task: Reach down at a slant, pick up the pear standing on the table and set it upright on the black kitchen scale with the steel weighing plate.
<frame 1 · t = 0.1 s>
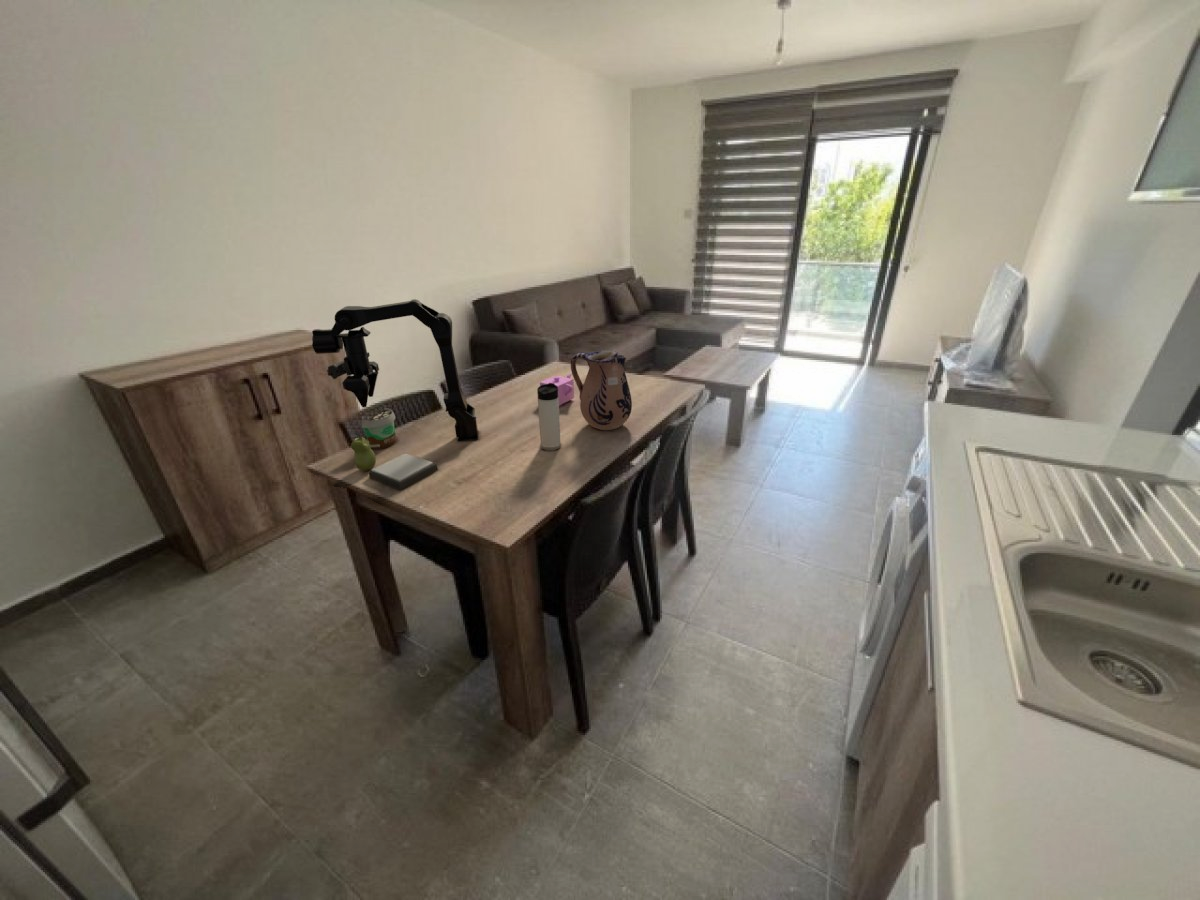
hand: (367, 401, 147), 15 cm above the table, tool pointing down, fingers open, 9 cm apart
travel mug: (551, 446, 152), on the table
kitchen scale: (404, 473, 136), on the table
pear: (367, 470, 139), on the table
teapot: (560, 401, 188), on the table
ceramic pitcher: (601, 425, 167), on the table
food container: (388, 444, 154), on the table
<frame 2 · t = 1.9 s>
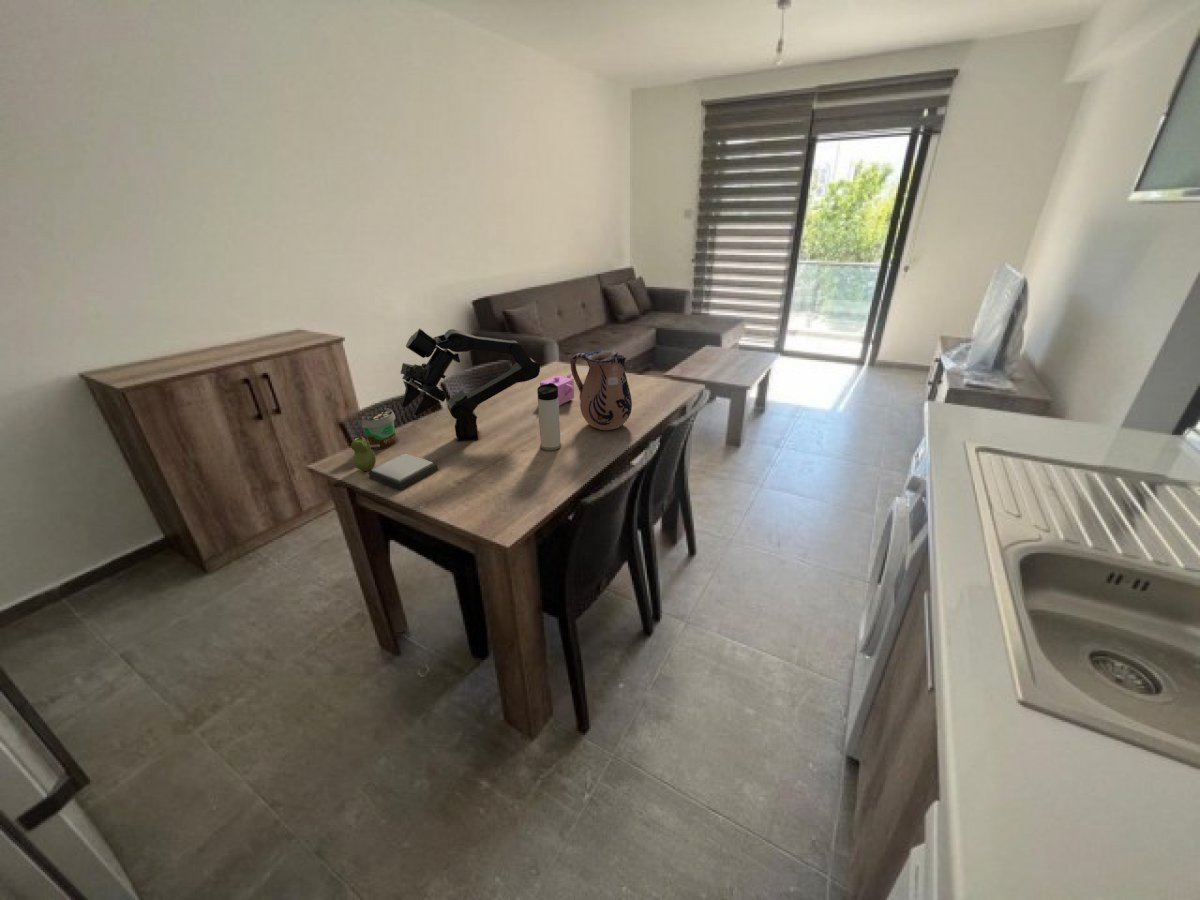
hand: (409, 410, 143), 14 cm above the table, tool tilted 45°, fingers open, 9 cm apart
nothing on the table moved.
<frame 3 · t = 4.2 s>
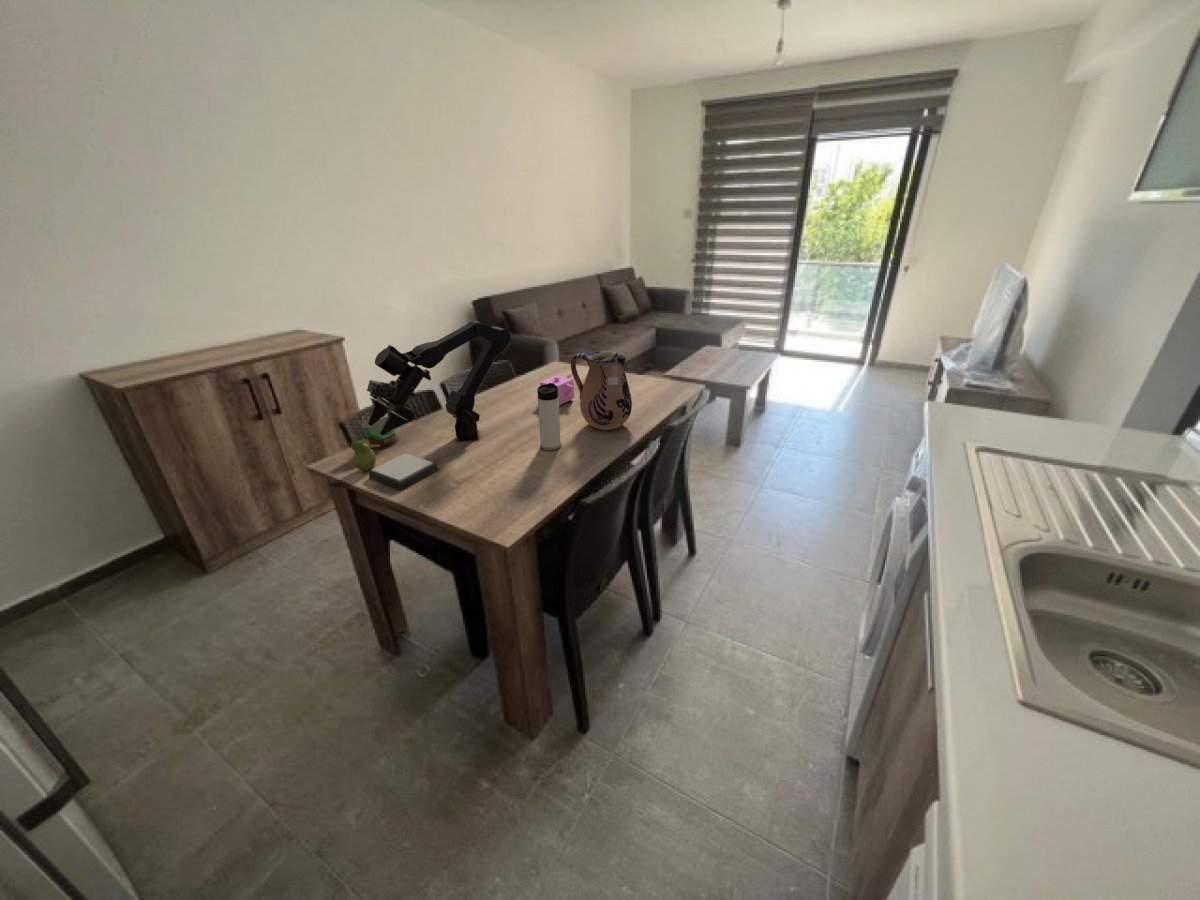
hand: (375, 429, 136), 11 cm above the table, tool tilted 45°, fingers open, 9 cm apart
nothing on the table moved.
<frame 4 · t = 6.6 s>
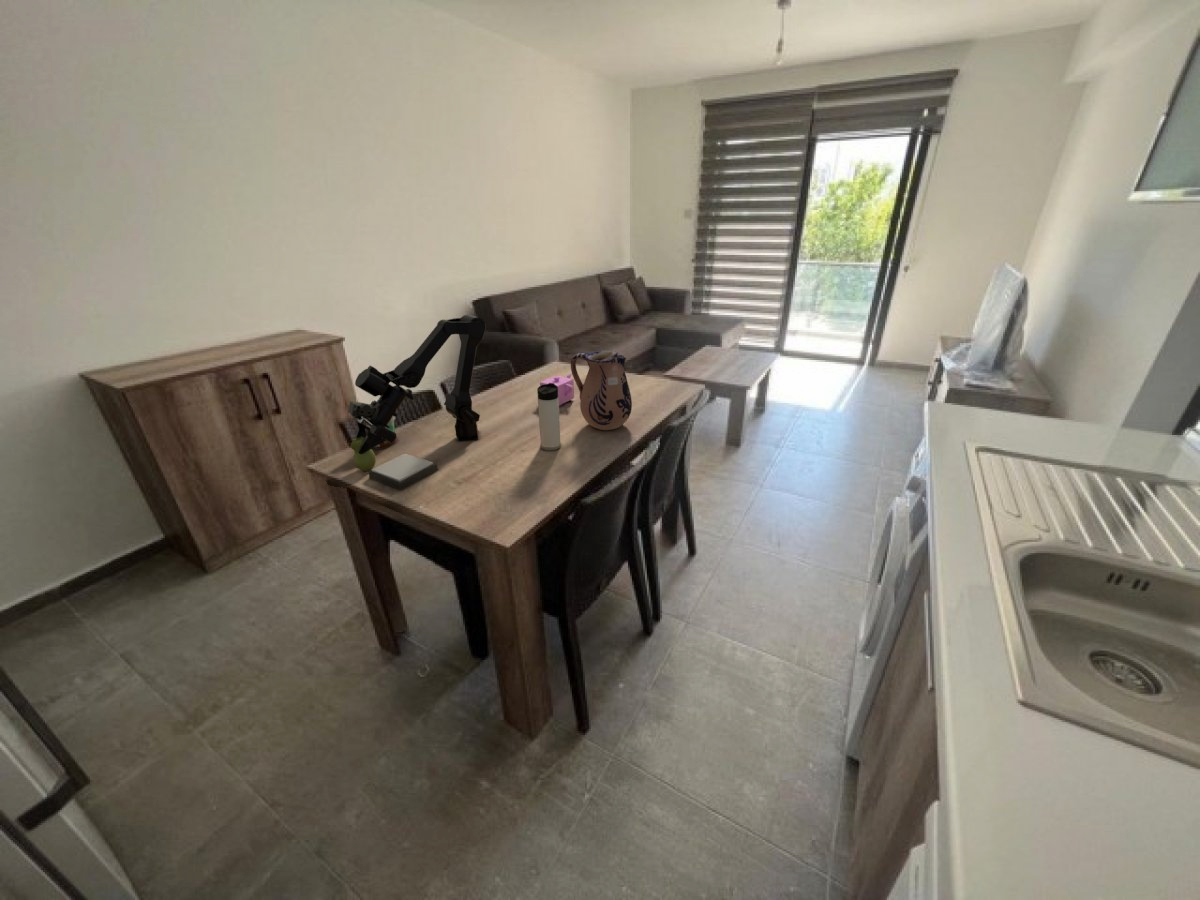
hand: (356, 450, 135), 7 cm above the table, tool tilted 45°, fingers closed on pear, 4 cm apart
pear: (367, 470, 139), on the table, touching gripper
everything else where it was.
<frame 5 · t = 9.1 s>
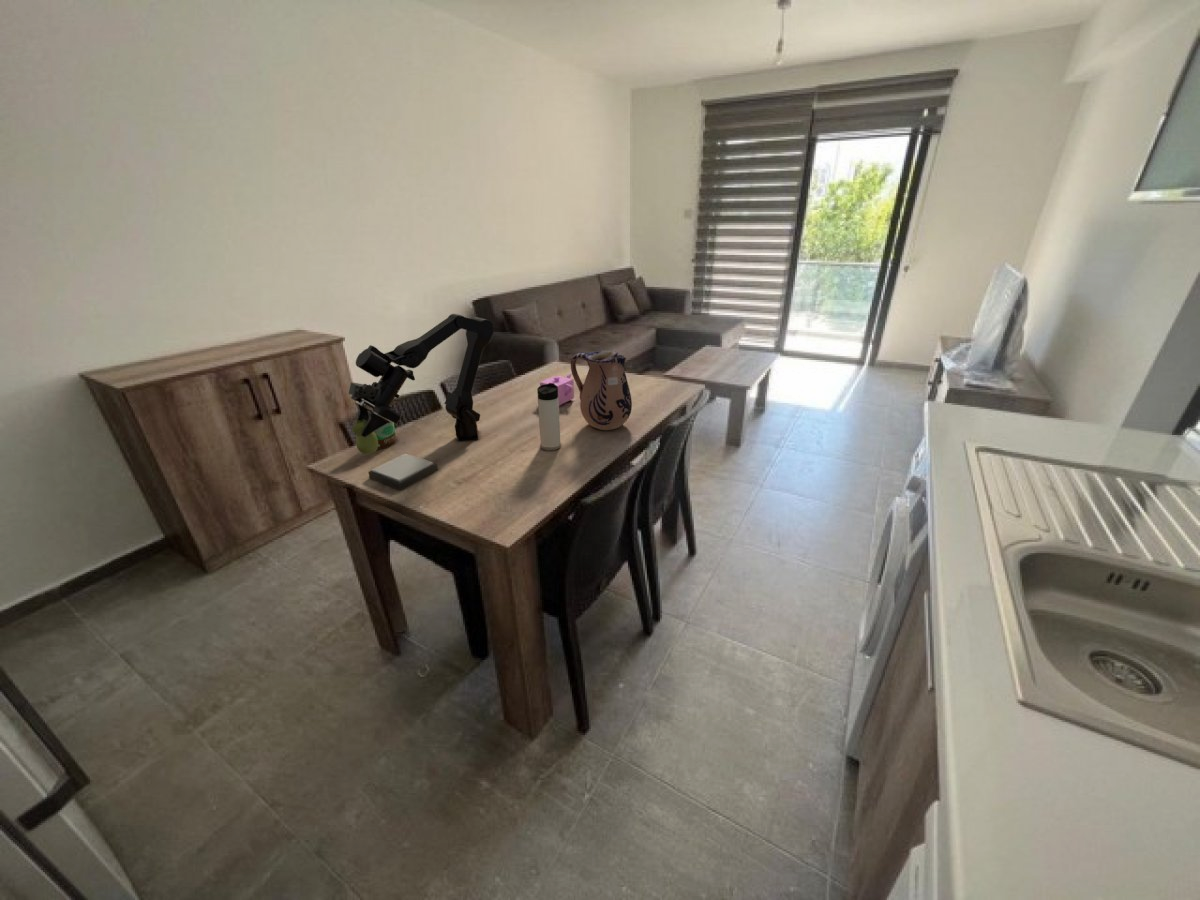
hand: (359, 433, 132), 12 cm above the table, tool tilted 45°, fingers closed on pear, 4 cm apart
pear: (369, 453, 136), point 5 cm above the table, touching gripper
everything else where it was.
when the fingers open (9 cm above the table, at t = 12.1 s): pear stays where it is, resting on kitchen scale.
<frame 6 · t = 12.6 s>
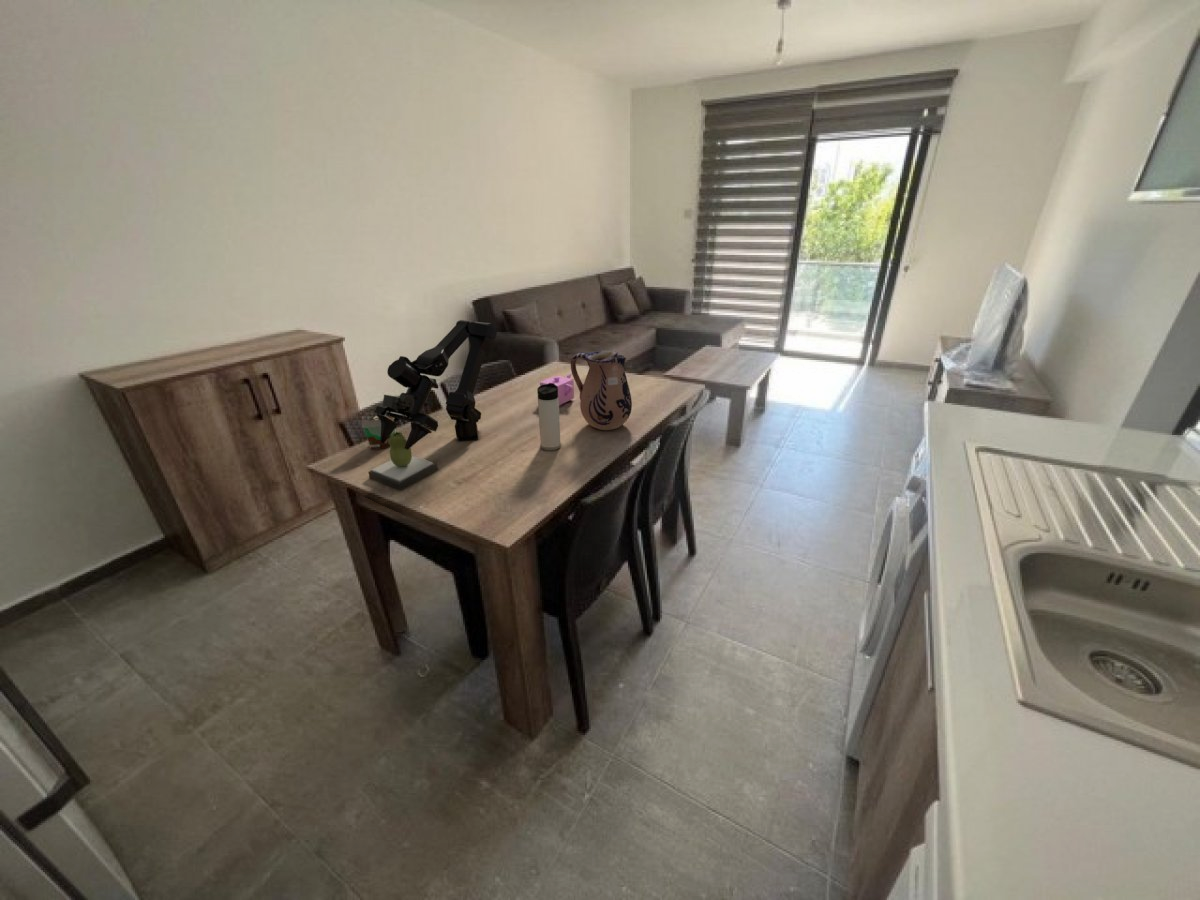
hand: (393, 445, 131), 10 cm above the table, tool tilted 45°, fingers open, 9 cm apart
pear: (403, 466, 135), point 2 cm above the table, touching kitchen scale
everything else where it was.
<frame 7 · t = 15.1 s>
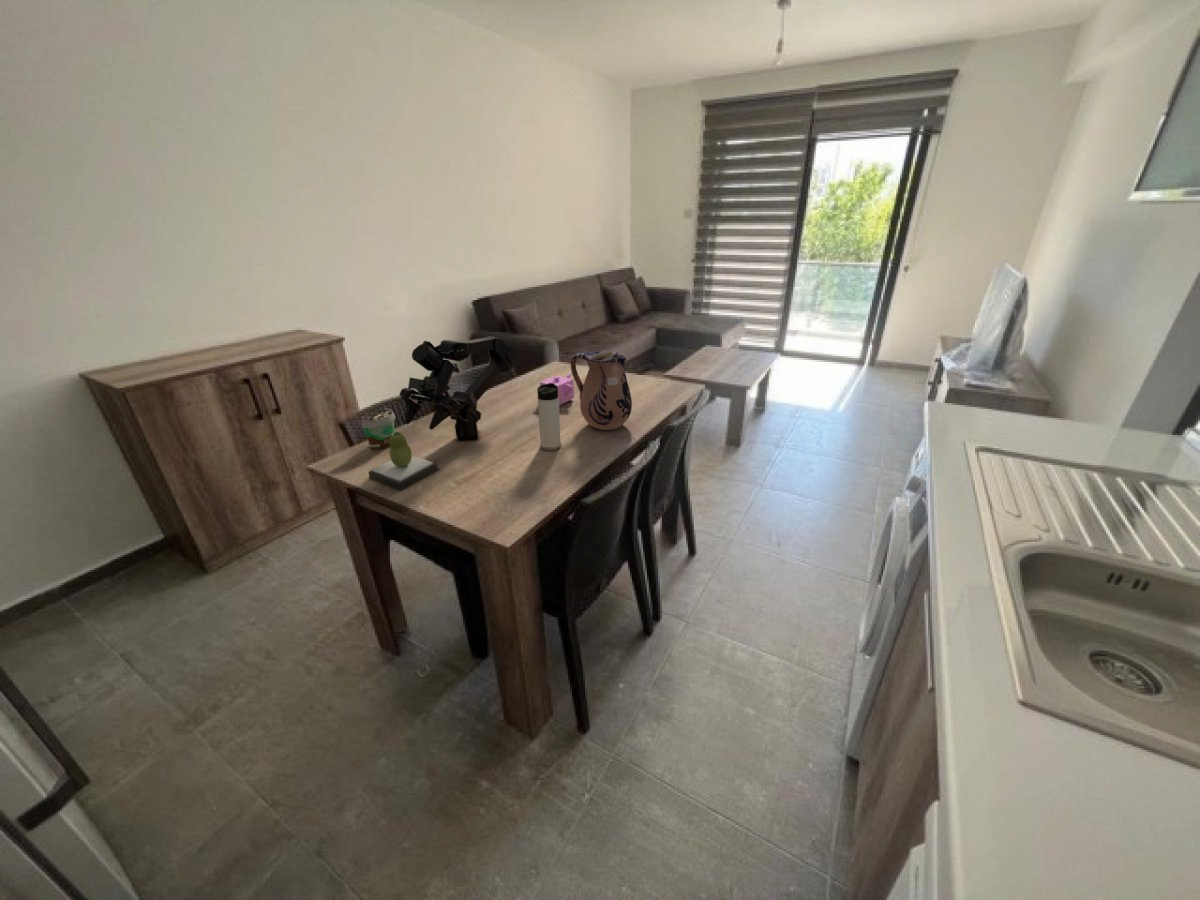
hand: (418, 426, 138), 11 cm above the table, tool tilted 45°, fingers open, 9 cm apart
nothing on the table moved.
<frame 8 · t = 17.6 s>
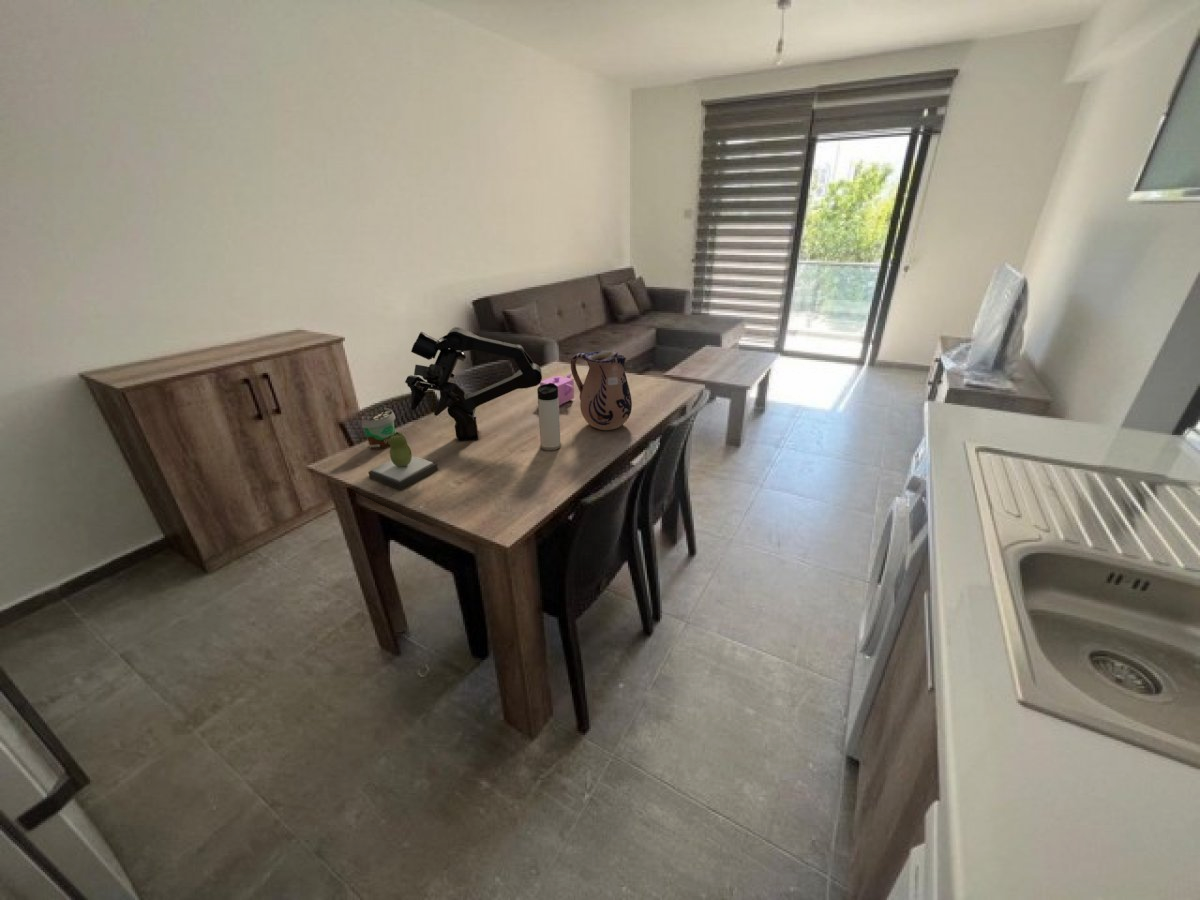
hand: (423, 412, 142), 14 cm above the table, tool tilted 45°, fingers open, 9 cm apart
nothing on the table moved.
at the end: pear inside the target area on the kitchen scale (0.2 cm from its centre), point 2.4 cm above the kitchen scale's base; pear tilted 0°; the gripper is holding nothing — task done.
